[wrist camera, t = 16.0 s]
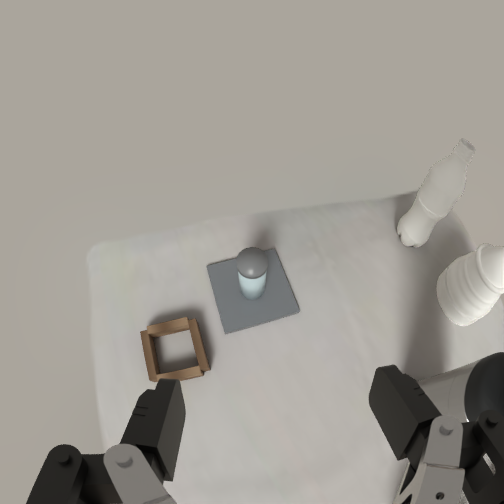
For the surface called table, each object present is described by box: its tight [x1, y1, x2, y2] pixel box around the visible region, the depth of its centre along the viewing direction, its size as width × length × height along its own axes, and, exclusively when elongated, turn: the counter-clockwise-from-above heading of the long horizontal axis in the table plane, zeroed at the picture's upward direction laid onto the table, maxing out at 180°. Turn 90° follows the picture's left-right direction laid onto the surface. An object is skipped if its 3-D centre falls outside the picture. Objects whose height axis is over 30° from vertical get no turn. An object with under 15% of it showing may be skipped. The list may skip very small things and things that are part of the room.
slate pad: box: [207, 248, 300, 334], centre depth 45 cm, size 12×12×1 cm
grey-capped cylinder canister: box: [236, 247, 268, 300], centre depth 42 cm, size 4×4×8 cm
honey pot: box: [436, 243, 504, 326], centre depth 37 cm, size 13×13×18 cm
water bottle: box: [397, 139, 475, 248], centre depth 41 cm, size 7×7×25 cm
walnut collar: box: [140, 317, 210, 382], centre depth 39 cm, size 9×9×2 cm
